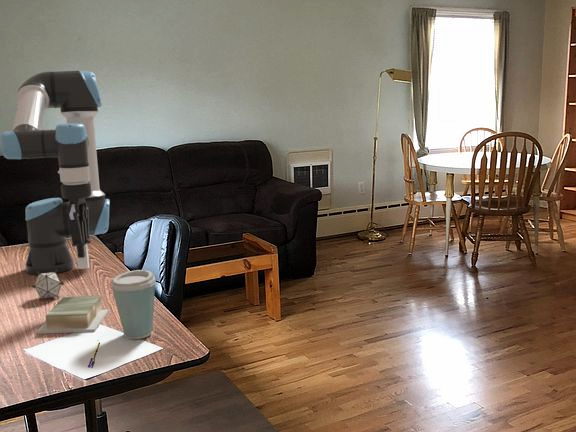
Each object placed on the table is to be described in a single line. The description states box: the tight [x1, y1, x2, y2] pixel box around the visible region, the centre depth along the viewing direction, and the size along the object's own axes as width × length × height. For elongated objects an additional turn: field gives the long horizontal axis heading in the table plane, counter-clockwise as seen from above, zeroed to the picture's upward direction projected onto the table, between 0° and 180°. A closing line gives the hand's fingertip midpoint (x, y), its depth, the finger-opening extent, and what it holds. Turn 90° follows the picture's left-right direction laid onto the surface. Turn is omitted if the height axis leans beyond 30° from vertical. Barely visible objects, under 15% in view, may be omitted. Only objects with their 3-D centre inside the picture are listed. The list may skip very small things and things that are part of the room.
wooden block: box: [45, 295, 103, 329], centre depth 161 cm, size 4×10×14 cm
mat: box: [36, 308, 109, 335], centre depth 160 cm, size 14×14×1 cm
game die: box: [31, 270, 65, 302], centre depth 179 cm, size 9×8×10 cm
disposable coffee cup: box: [110, 269, 157, 340], centre depth 150 cm, size 11×11×15 cm
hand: (83, 267), depth 170 cm, fingers closed
